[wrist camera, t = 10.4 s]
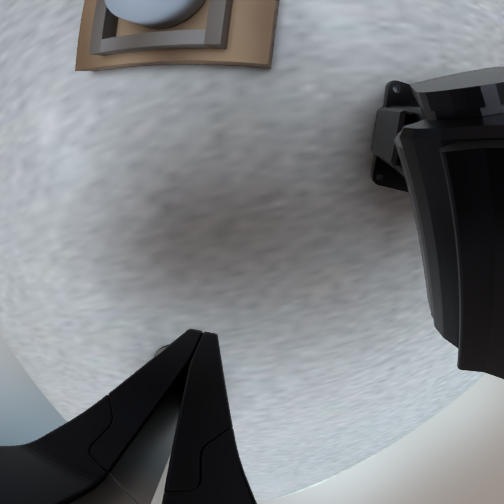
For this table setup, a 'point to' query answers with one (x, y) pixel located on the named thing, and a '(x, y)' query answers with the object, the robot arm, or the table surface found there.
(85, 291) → the table surface
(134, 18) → the blue-grey flat rounded piece
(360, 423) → the table surface
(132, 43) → the button panel
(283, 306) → the table surface
